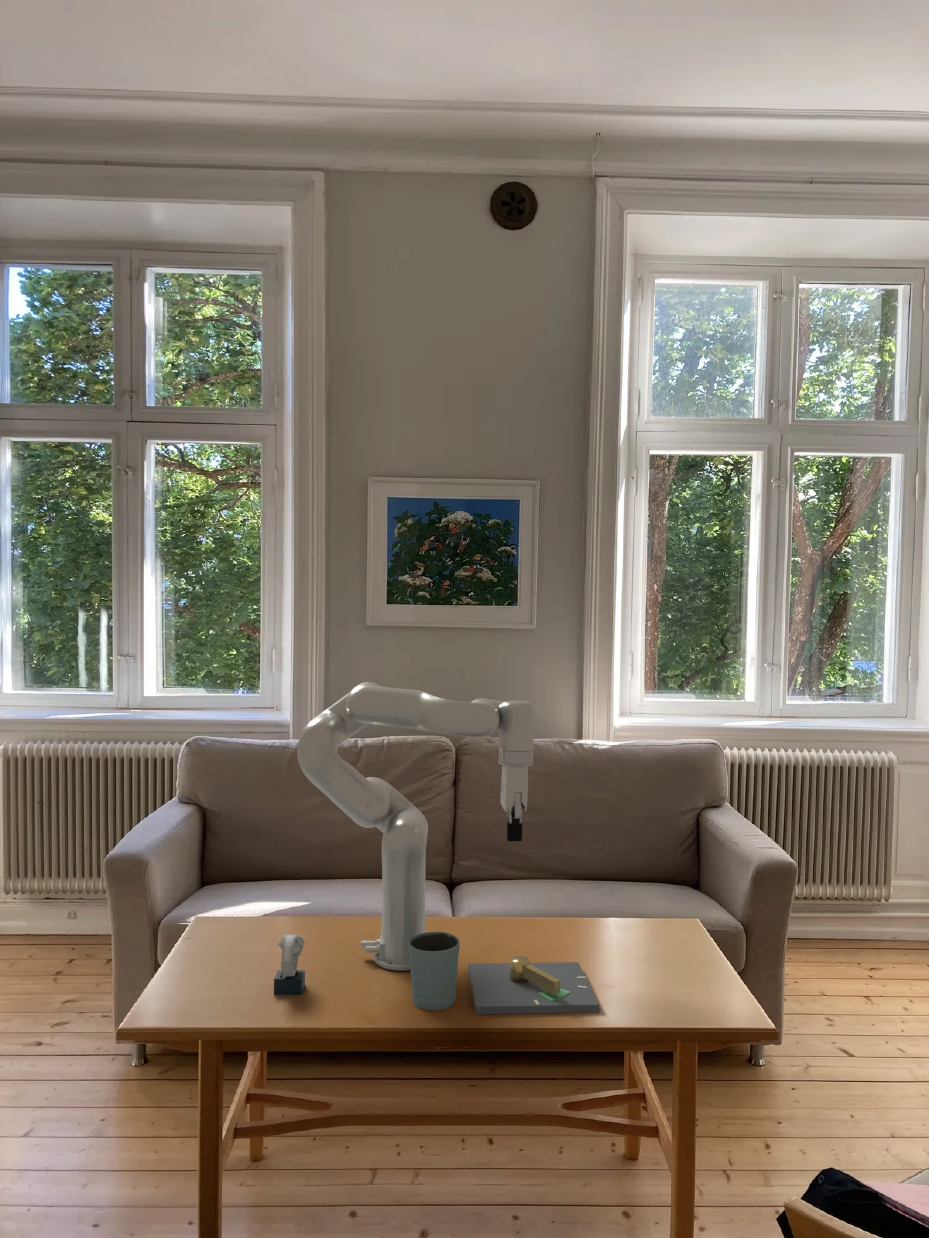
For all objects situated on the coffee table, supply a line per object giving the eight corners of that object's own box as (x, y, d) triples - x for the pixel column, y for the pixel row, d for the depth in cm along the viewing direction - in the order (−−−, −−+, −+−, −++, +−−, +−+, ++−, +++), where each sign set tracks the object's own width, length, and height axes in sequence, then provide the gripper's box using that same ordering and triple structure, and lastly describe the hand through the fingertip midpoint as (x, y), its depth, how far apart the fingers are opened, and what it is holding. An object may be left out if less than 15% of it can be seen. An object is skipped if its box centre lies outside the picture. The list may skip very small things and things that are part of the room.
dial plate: (476, 1014, 169) (476, 1005, 169) (468, 970, 189) (468, 962, 189) (599, 1012, 171) (599, 1003, 171) (578, 968, 191) (578, 961, 191)
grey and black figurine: (306, 980, 182) (307, 928, 182) (299, 998, 174) (300, 943, 174) (279, 980, 182) (280, 928, 182) (271, 998, 174) (272, 943, 174)
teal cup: (467, 995, 177) (467, 936, 176) (445, 1016, 168) (446, 954, 167) (422, 985, 181) (422, 927, 181) (398, 1006, 172) (399, 945, 171)
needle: (505, 976, 182) (506, 958, 182) (520, 972, 184) (520, 954, 184) (549, 1001, 171) (549, 982, 171) (564, 996, 173) (565, 977, 173)
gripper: (495, 751, 200) (493, 831, 200) (502, 763, 185) (501, 850, 185) (527, 751, 200) (526, 831, 201) (538, 763, 185) (536, 849, 186)
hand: (514, 840), depth 193 cm, fingers closed
